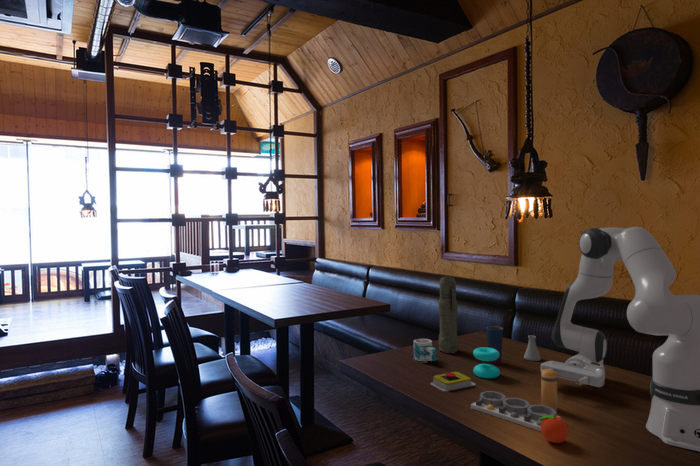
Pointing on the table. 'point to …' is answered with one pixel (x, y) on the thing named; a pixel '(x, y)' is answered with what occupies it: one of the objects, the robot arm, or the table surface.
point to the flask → (532, 350)
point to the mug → (424, 350)
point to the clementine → (554, 428)
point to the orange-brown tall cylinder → (549, 388)
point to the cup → (495, 341)
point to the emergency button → (451, 381)
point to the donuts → (486, 369)
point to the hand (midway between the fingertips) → (563, 378)
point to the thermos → (448, 315)
